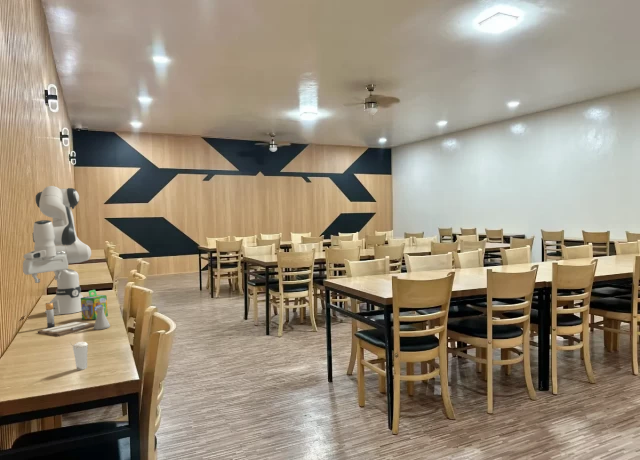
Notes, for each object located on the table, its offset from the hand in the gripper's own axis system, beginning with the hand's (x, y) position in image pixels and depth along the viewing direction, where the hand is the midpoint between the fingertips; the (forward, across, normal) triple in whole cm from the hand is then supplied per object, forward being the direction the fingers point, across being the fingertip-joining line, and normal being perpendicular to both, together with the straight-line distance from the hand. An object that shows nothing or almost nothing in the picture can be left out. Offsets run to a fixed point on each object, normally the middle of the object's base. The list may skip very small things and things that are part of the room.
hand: (47, 281), depth 214 cm
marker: (+23, 0, 0) cm, 23 cm away
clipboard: (+23, 0, +14) cm, 27 cm away
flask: (+23, -7, +29) cm, 38 cm away
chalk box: (+23, -21, +4) cm, 32 cm away
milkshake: (+23, +34, +75) cm, 86 cm away
